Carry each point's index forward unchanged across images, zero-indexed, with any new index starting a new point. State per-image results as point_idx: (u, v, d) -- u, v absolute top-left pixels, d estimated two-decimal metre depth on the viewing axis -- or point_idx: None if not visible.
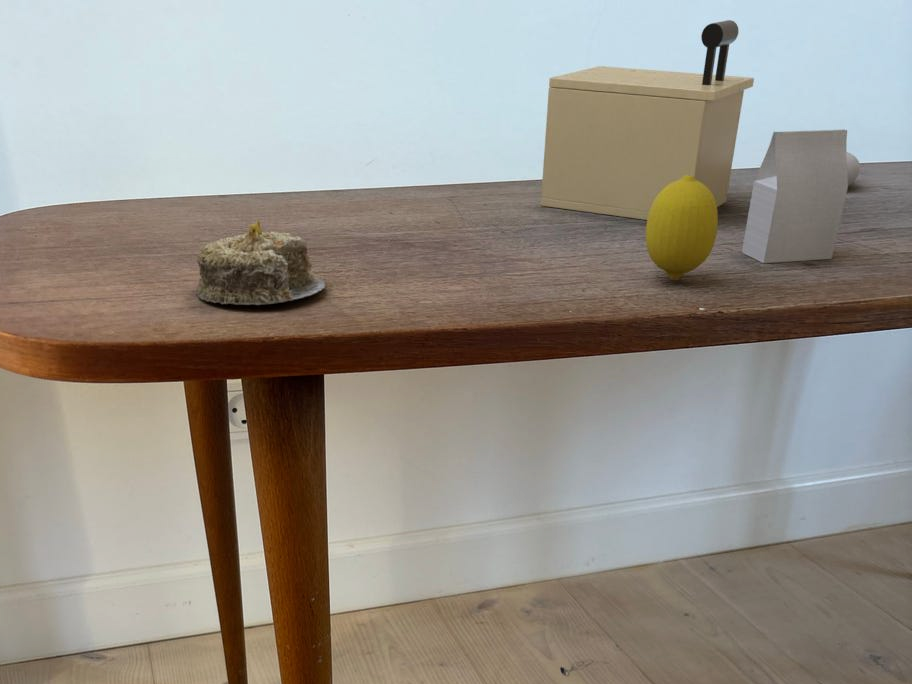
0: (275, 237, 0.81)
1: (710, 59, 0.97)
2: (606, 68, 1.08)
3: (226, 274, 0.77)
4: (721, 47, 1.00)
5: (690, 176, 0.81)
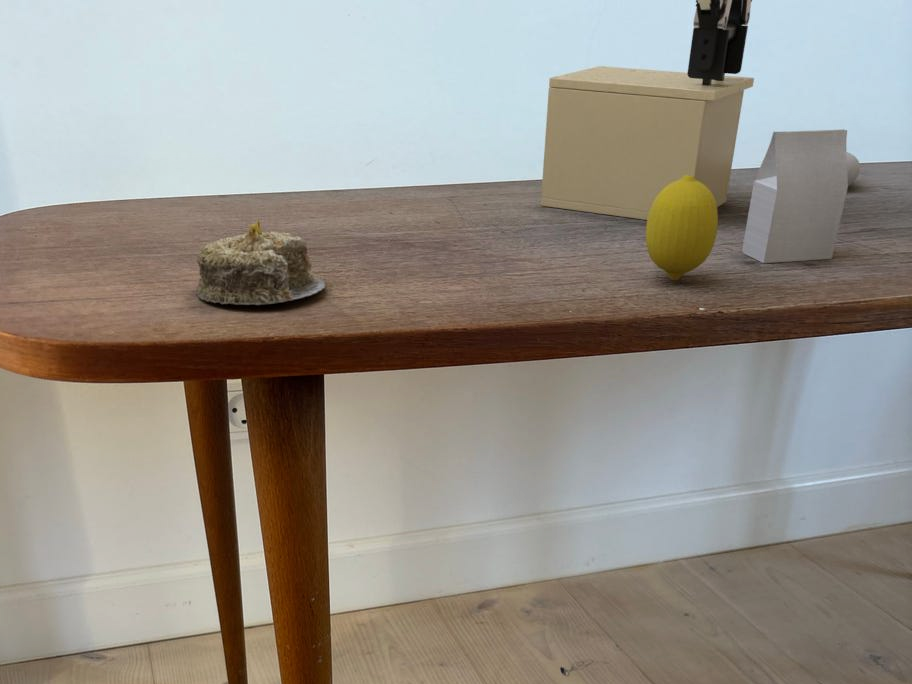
0: (275, 237, 0.81)
1: None
2: (606, 68, 1.08)
3: (226, 274, 0.77)
4: None
5: (690, 176, 0.81)
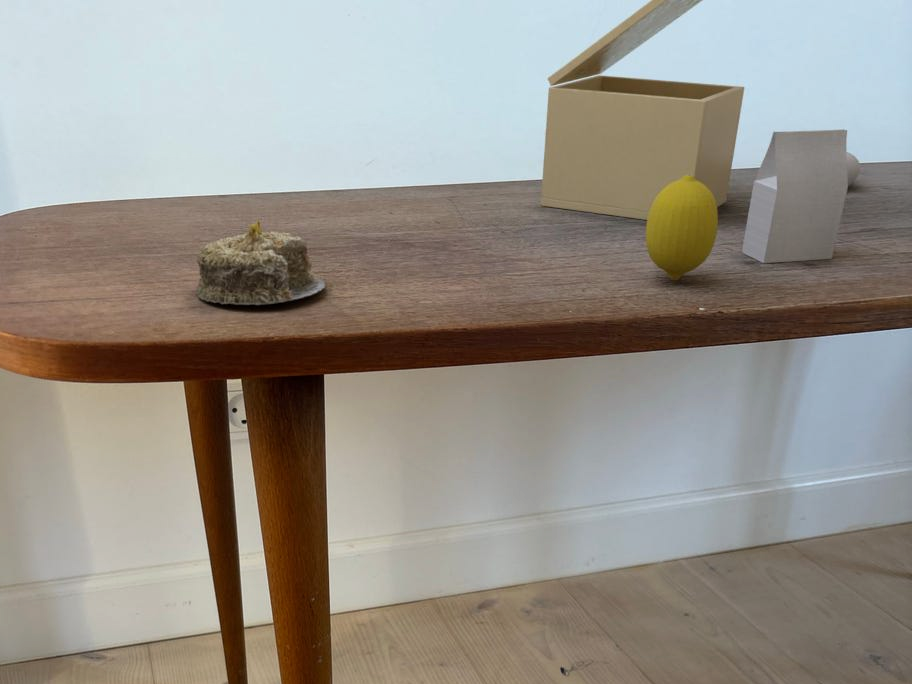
0: (275, 237, 0.81)
1: None
2: None
3: (226, 274, 0.77)
4: None
5: (690, 176, 0.81)
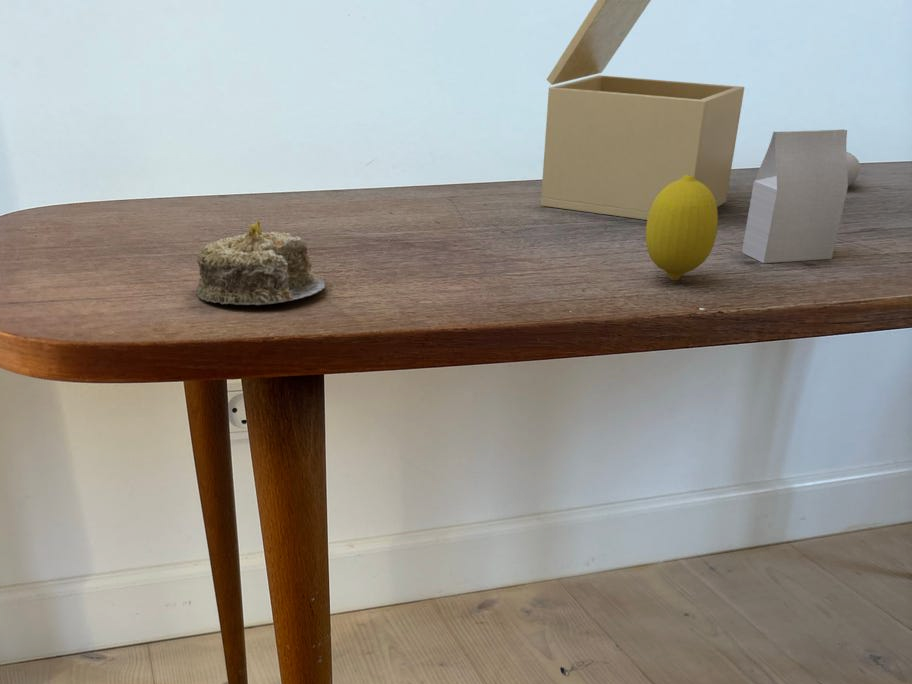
0: (275, 237, 0.81)
1: None
2: None
3: (226, 274, 0.77)
4: None
5: (690, 176, 0.81)
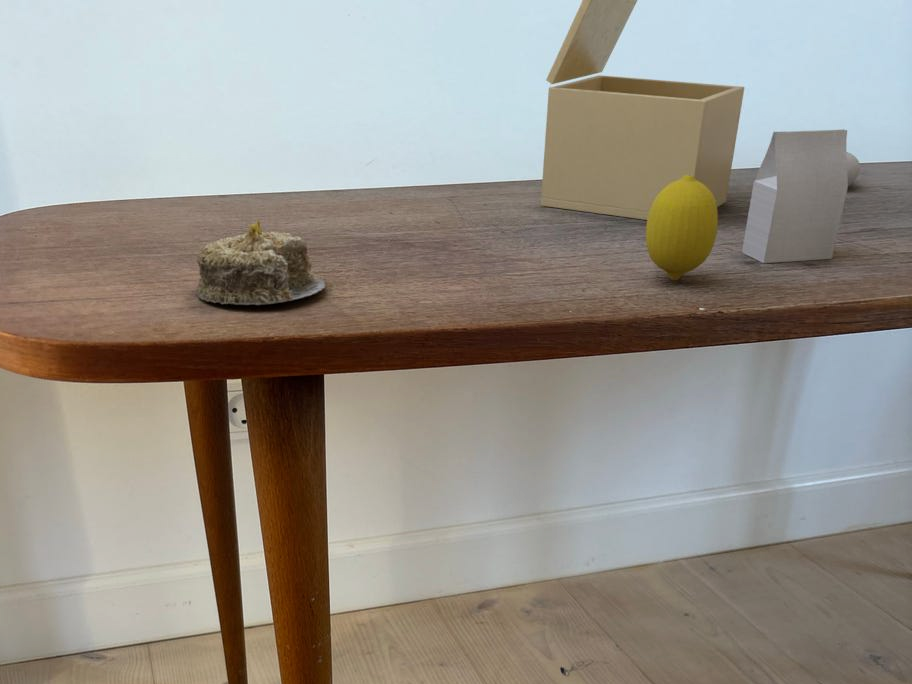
0: (275, 237, 0.81)
1: None
2: None
3: (226, 274, 0.77)
4: None
5: (690, 176, 0.81)
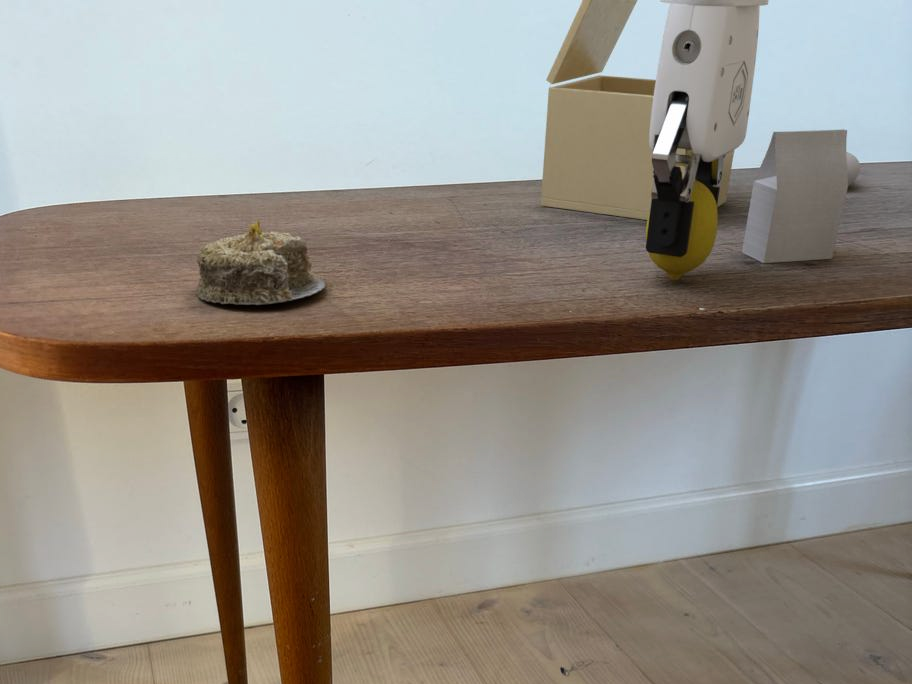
0: (275, 237, 0.81)
1: None
2: None
3: (226, 274, 0.77)
4: None
5: None
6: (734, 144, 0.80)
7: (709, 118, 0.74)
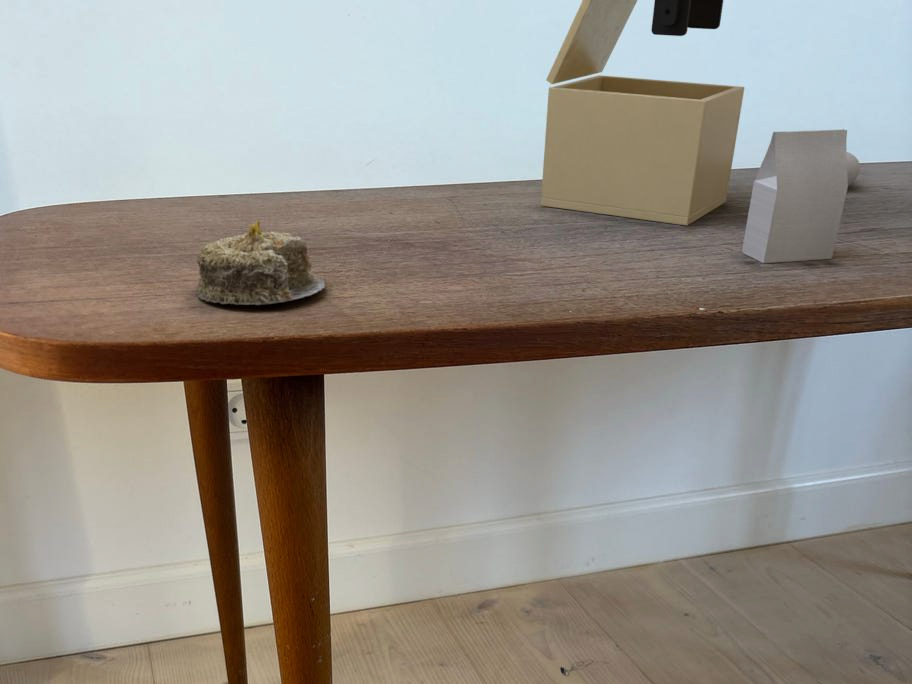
0: (275, 237, 0.81)
1: None
2: None
3: (226, 274, 0.77)
4: None
5: None
6: None
7: None
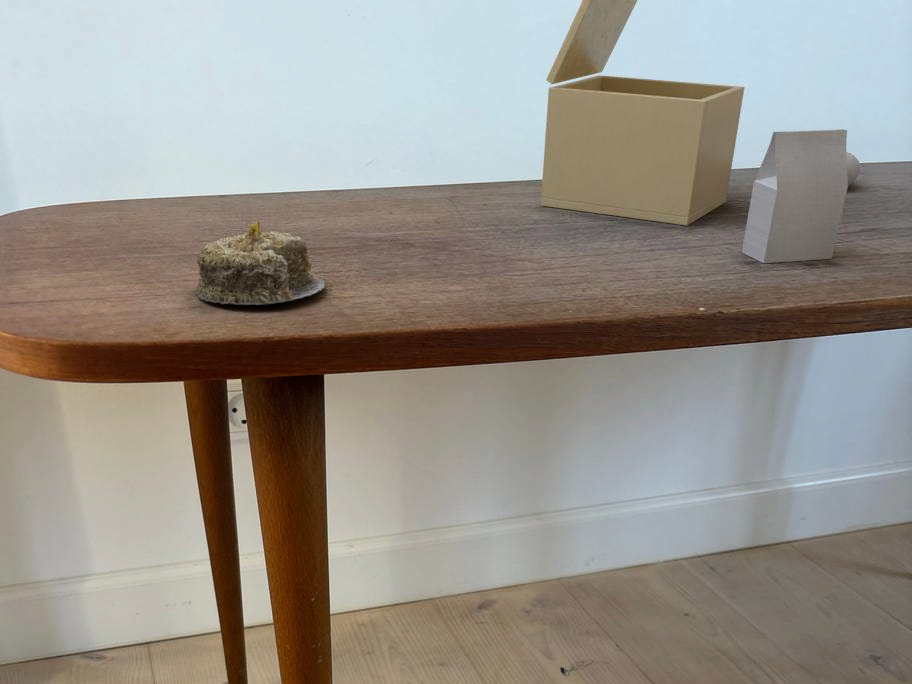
0: (275, 237, 0.81)
1: None
2: None
3: (226, 274, 0.77)
4: None
5: None
6: None
7: None
